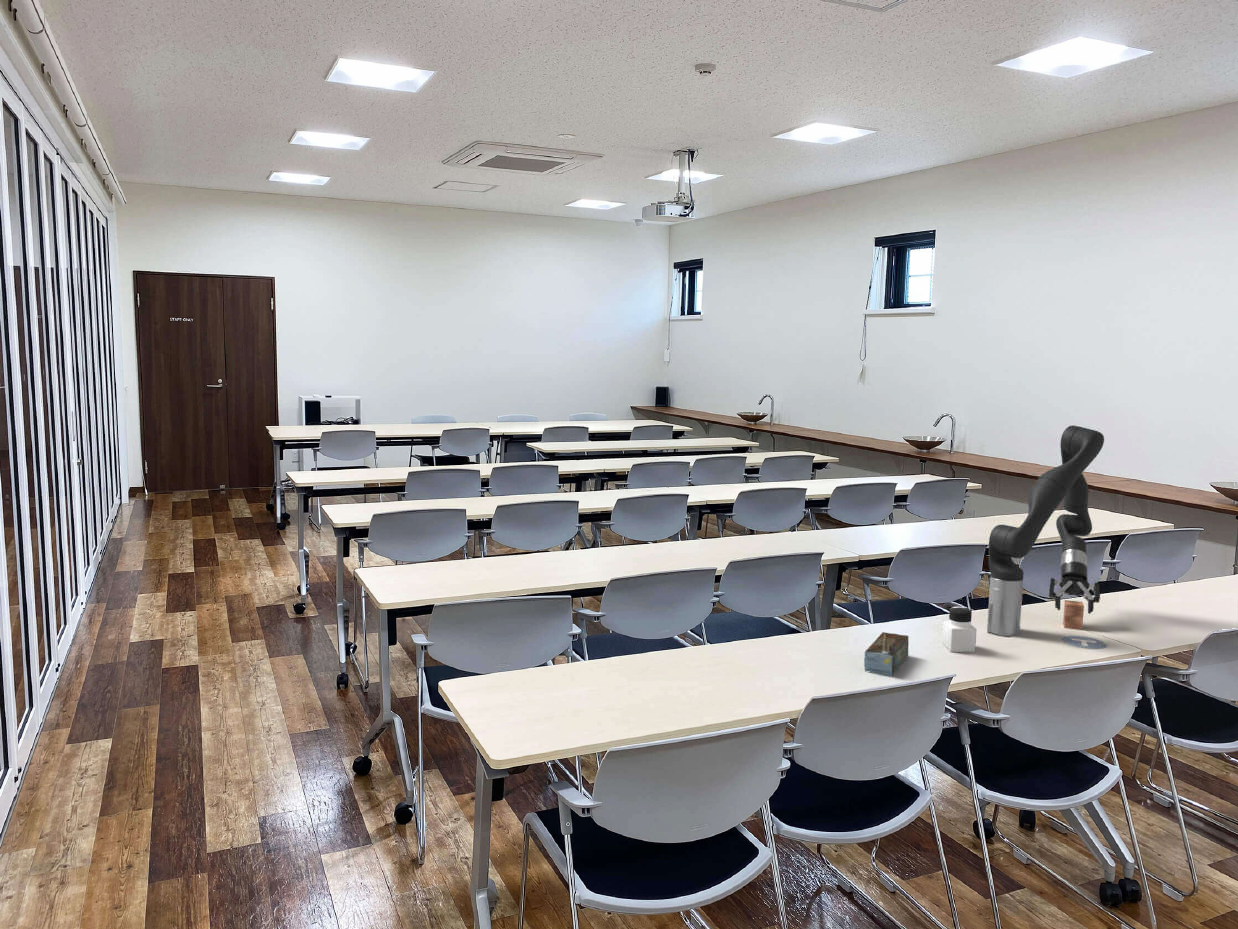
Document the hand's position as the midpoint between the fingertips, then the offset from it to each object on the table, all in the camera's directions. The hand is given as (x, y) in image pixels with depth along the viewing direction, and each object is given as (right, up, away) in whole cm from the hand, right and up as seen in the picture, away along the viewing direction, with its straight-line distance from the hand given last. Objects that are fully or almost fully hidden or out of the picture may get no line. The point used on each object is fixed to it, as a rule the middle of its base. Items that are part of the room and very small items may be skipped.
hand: (1074, 610), depth 273 cm
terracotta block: (0, -6, +2) cm, 6 cm away
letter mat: (-4, -8, -13) cm, 16 cm away
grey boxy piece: (-68, -10, -31) cm, 75 cm away
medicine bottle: (-43, -8, -18) cm, 48 cm away
